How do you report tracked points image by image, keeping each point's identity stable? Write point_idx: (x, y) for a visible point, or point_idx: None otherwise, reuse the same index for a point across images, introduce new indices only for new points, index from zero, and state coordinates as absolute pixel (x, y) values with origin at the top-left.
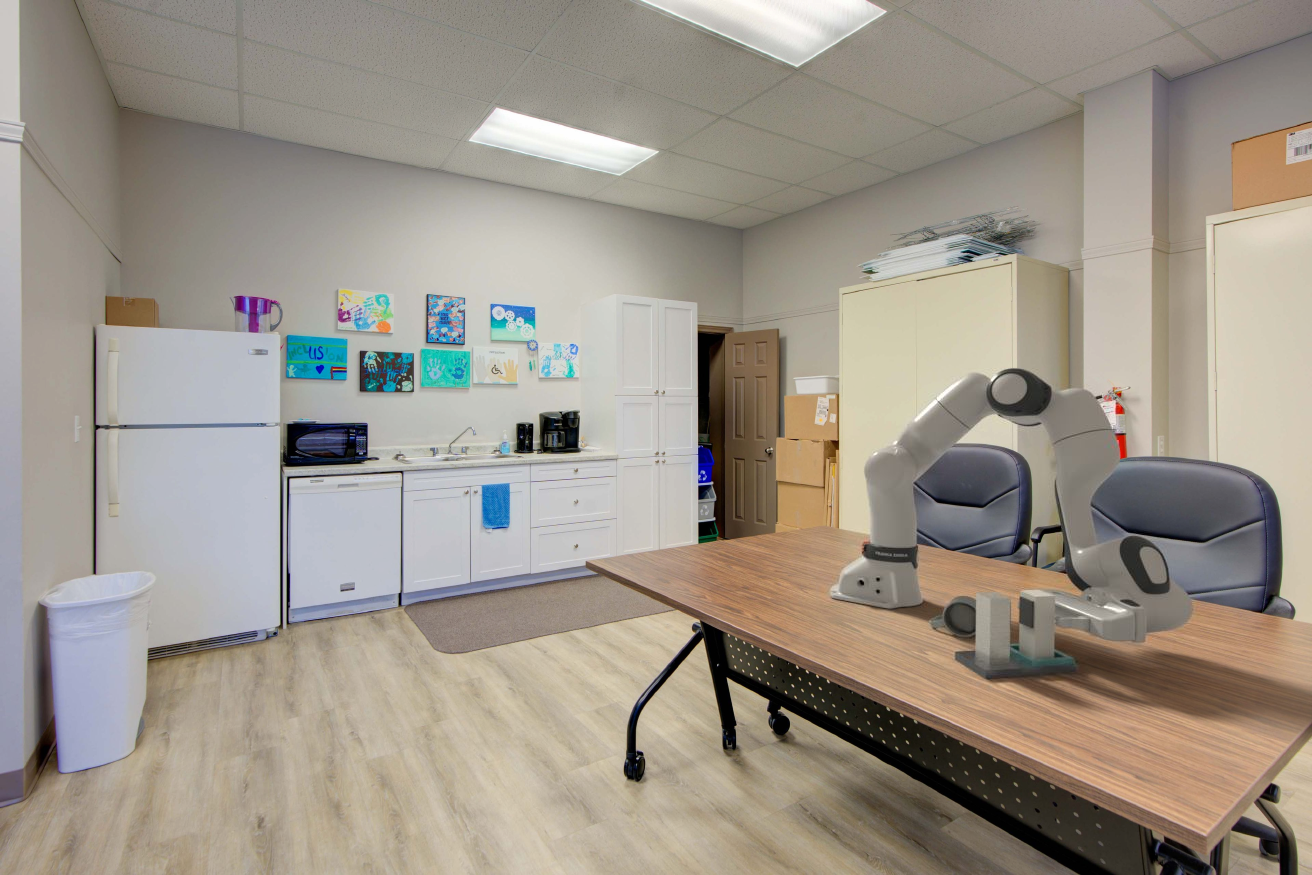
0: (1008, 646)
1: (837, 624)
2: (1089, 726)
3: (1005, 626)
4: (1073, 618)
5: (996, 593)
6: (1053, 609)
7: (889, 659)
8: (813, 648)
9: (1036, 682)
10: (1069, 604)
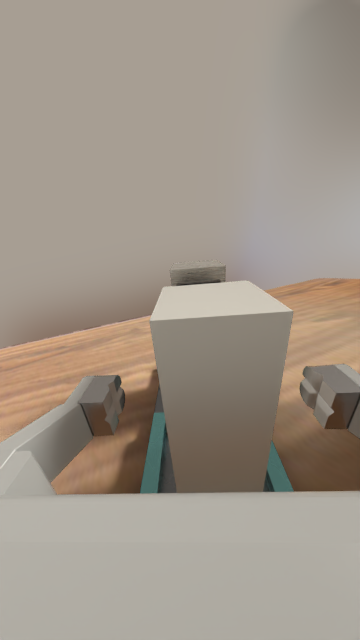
0: None
1: (334, 313)
2: (12, 398)
3: None
4: (49, 414)
5: (210, 265)
6: (162, 384)
7: None
8: None
9: (130, 420)
10: (201, 575)
